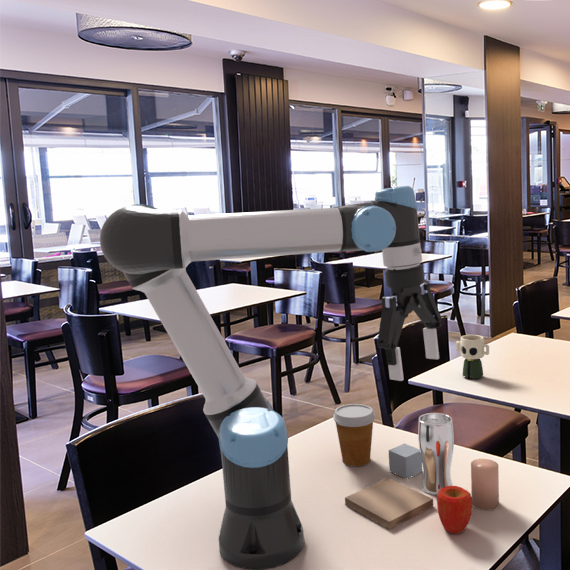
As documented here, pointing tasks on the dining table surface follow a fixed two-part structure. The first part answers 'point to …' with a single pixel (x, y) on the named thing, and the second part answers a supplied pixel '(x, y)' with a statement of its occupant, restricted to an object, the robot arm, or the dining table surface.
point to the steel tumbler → (436, 450)
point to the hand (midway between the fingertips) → (415, 368)
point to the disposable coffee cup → (354, 433)
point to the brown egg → (485, 484)
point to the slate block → (405, 460)
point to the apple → (454, 508)
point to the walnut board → (389, 502)
